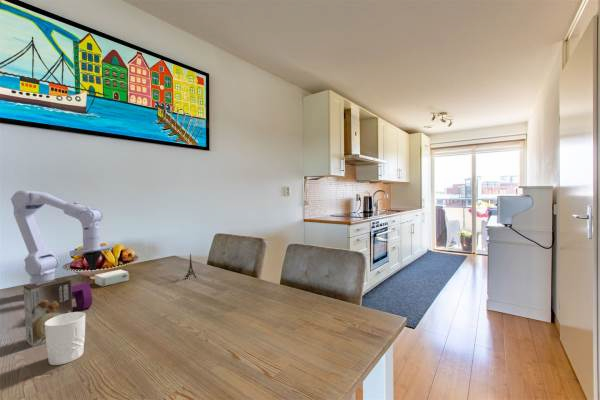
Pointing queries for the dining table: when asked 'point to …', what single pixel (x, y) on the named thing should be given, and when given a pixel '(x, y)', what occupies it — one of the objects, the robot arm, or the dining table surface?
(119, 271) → the cabinet
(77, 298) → the mounting bracket
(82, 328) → the white cup
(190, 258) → the eiffel tower figurine
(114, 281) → the door
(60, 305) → the coffee box
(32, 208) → the robot arm
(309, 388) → the dining table surface
